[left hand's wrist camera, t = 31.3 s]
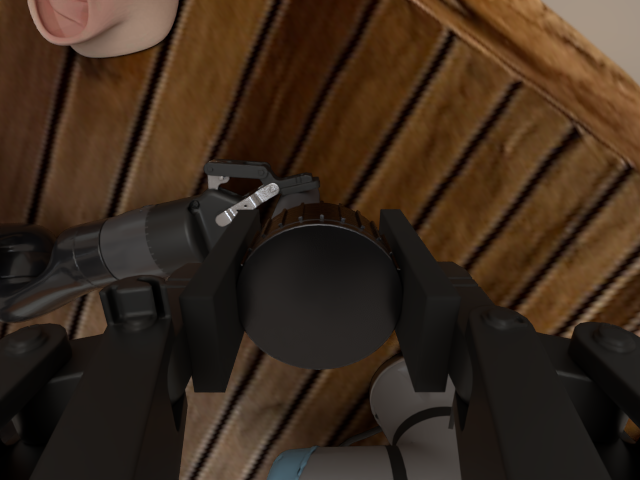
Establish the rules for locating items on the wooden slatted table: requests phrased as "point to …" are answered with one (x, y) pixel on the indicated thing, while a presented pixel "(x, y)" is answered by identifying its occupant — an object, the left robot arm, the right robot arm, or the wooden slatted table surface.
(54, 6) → the anatomical model
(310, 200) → the bottle
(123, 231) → the right robot arm
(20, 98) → the wooden slatted table surface
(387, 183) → the wooden slatted table surface
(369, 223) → the lid
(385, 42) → the wooden slatted table surface
